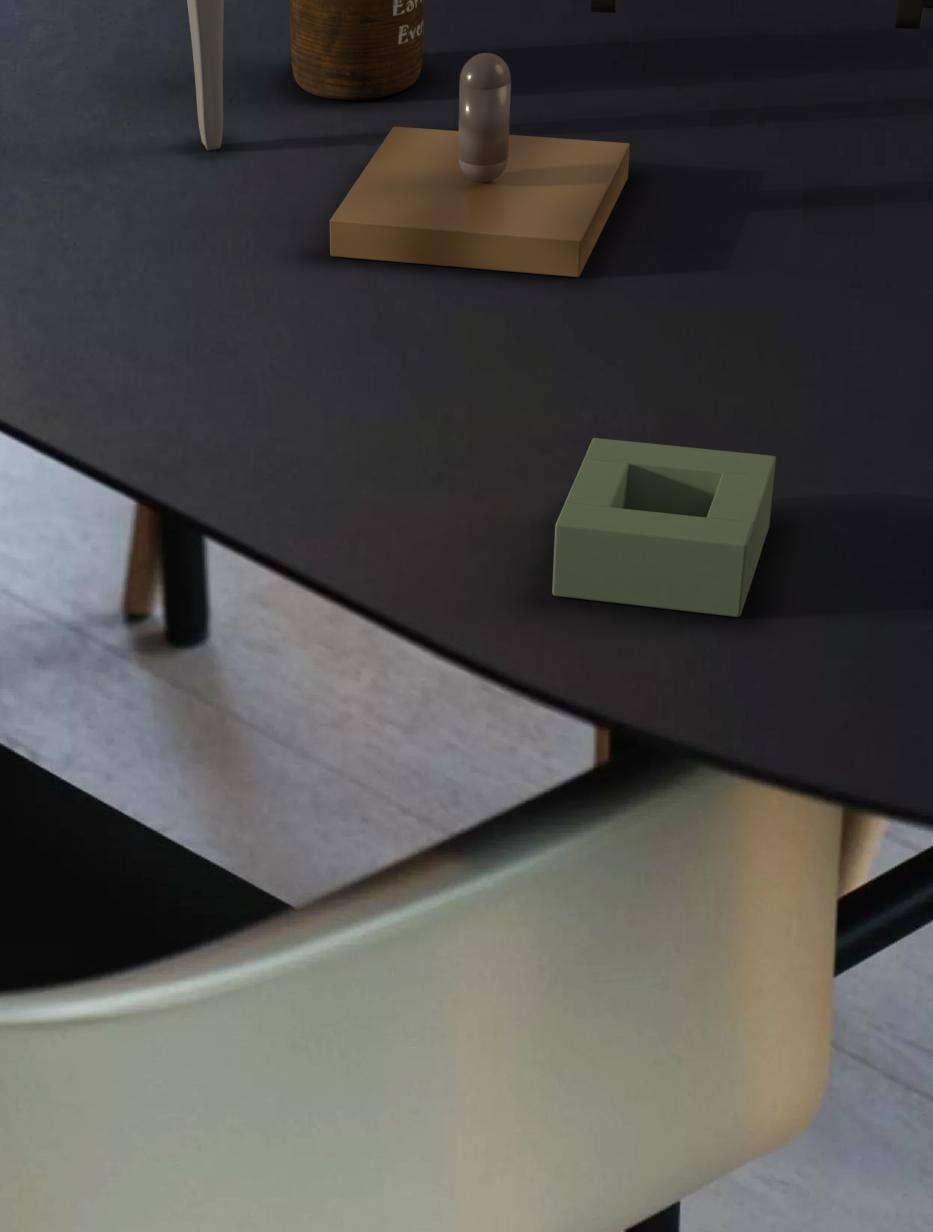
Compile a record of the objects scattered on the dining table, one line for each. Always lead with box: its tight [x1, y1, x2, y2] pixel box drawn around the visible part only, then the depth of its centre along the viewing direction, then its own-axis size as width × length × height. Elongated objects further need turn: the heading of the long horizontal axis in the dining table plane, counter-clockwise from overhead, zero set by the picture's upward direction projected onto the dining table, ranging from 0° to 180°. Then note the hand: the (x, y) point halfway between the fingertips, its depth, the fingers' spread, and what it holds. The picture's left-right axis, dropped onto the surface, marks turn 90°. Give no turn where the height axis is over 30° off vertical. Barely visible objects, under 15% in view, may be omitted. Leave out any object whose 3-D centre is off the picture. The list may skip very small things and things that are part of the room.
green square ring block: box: [551, 437, 777, 618], centre depth 87 cm, size 6×6×3 cm
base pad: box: [329, 52, 631, 278], centre depth 107 cm, size 10×10×6 cm
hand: (757, 12), depth 77 cm, fingers open, 8 cm apart
